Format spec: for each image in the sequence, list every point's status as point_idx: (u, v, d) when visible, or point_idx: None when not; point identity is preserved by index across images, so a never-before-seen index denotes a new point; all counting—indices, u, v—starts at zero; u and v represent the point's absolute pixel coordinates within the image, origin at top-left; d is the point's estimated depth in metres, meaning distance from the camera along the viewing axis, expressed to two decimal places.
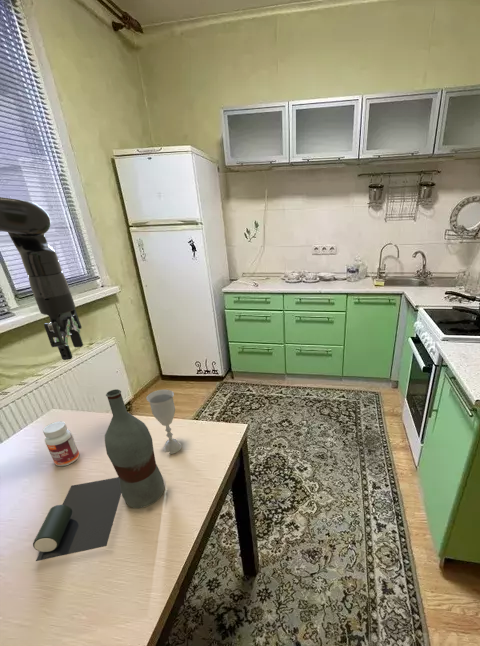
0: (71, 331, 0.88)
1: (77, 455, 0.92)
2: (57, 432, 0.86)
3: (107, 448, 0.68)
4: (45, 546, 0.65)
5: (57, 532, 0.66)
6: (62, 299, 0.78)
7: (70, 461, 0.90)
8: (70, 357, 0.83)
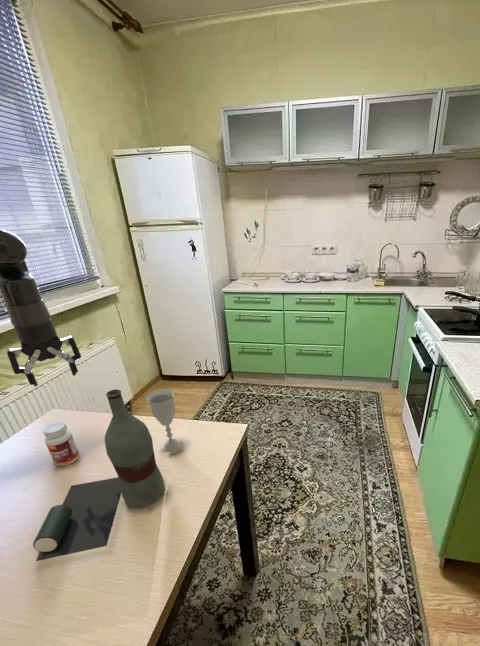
0: None
1: (77, 455, 0.92)
2: (57, 432, 0.86)
3: (107, 448, 0.68)
4: (45, 546, 0.65)
5: (57, 532, 0.66)
6: (22, 330, 0.75)
7: (70, 461, 0.90)
8: (33, 384, 0.81)
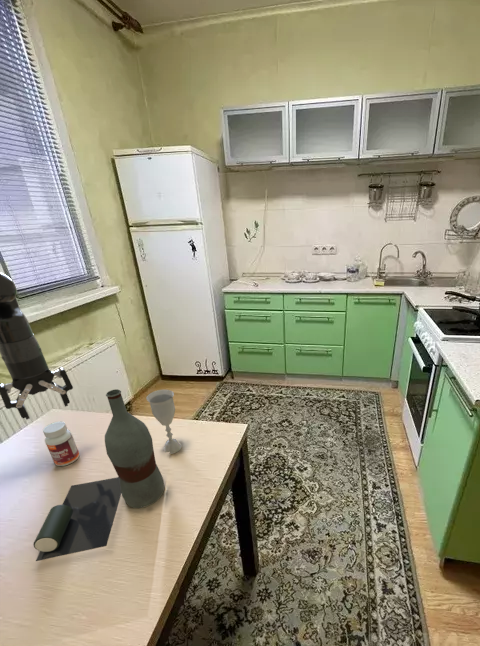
0: None
1: (77, 455, 0.92)
2: (57, 432, 0.86)
3: (107, 448, 0.68)
4: (46, 546, 0.65)
5: (58, 532, 0.66)
6: (13, 366, 0.75)
7: (70, 461, 0.90)
8: None
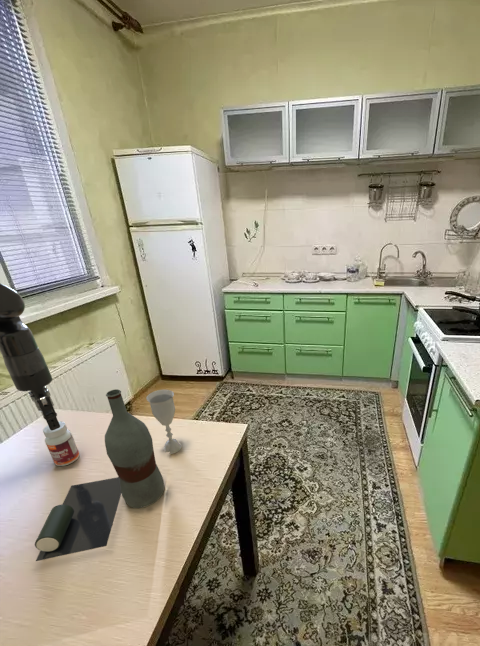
0: None
1: (77, 455, 0.92)
2: (57, 432, 0.86)
3: (107, 448, 0.68)
4: (47, 546, 0.65)
5: (60, 533, 0.66)
6: (44, 372, 0.80)
7: (70, 461, 0.90)
8: (59, 426, 0.84)
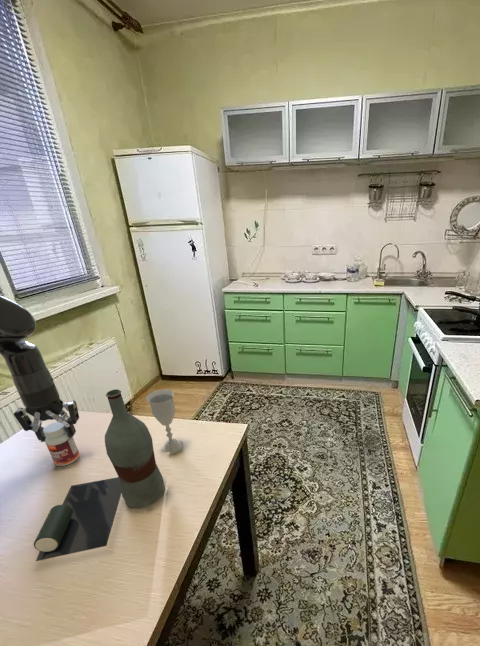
0: None
1: (77, 455, 0.92)
2: (57, 432, 0.86)
3: (107, 448, 0.68)
4: (46, 546, 0.65)
5: (59, 533, 0.66)
6: None
7: (70, 461, 0.90)
8: None
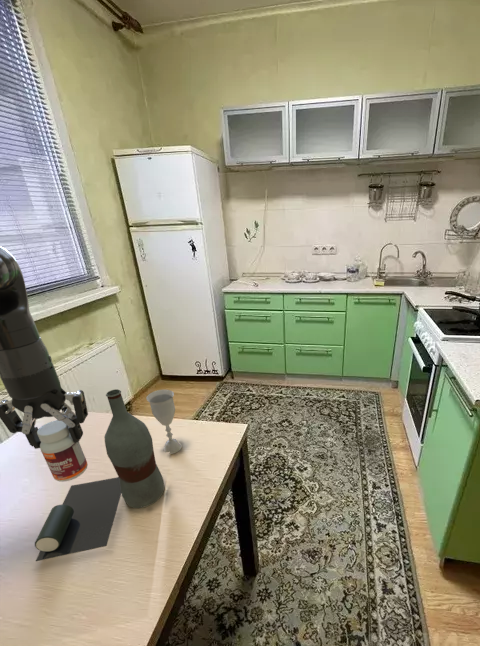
0: None
1: (85, 466, 0.67)
2: (57, 434, 0.61)
3: (107, 448, 0.68)
4: (46, 546, 0.65)
5: (60, 533, 0.66)
6: None
7: (75, 475, 0.65)
8: None
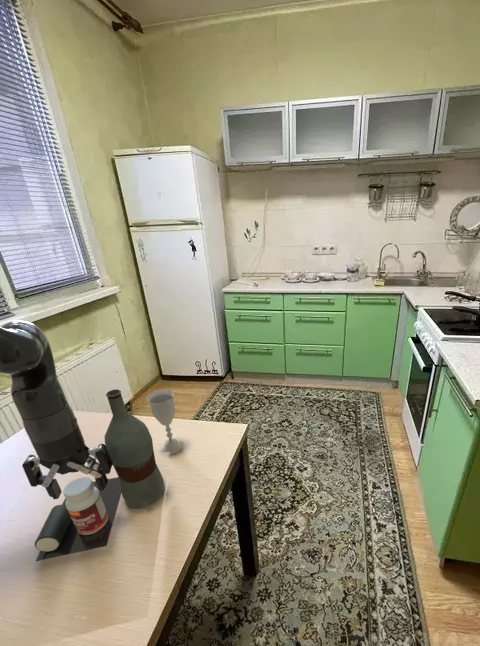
0: None
1: (106, 519, 0.71)
2: (82, 494, 0.65)
3: (107, 448, 0.68)
4: (47, 546, 0.65)
5: (60, 533, 0.66)
6: None
7: (97, 528, 0.69)
8: None
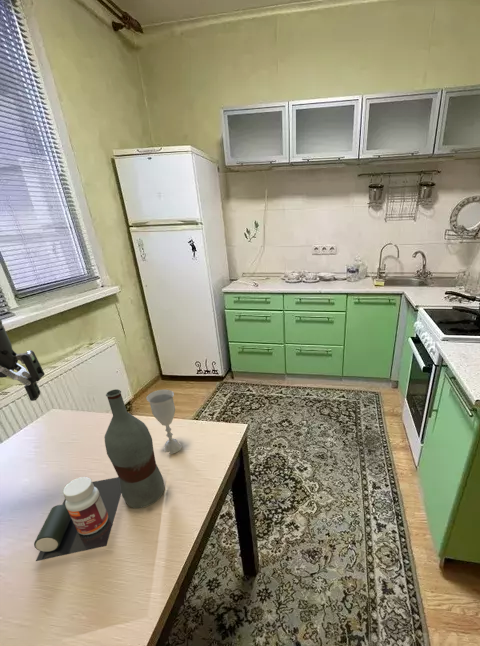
0: None
1: (106, 519, 0.71)
2: (82, 494, 0.65)
3: (107, 448, 0.68)
4: (46, 546, 0.65)
5: (59, 533, 0.66)
6: None
7: (97, 528, 0.69)
8: None
